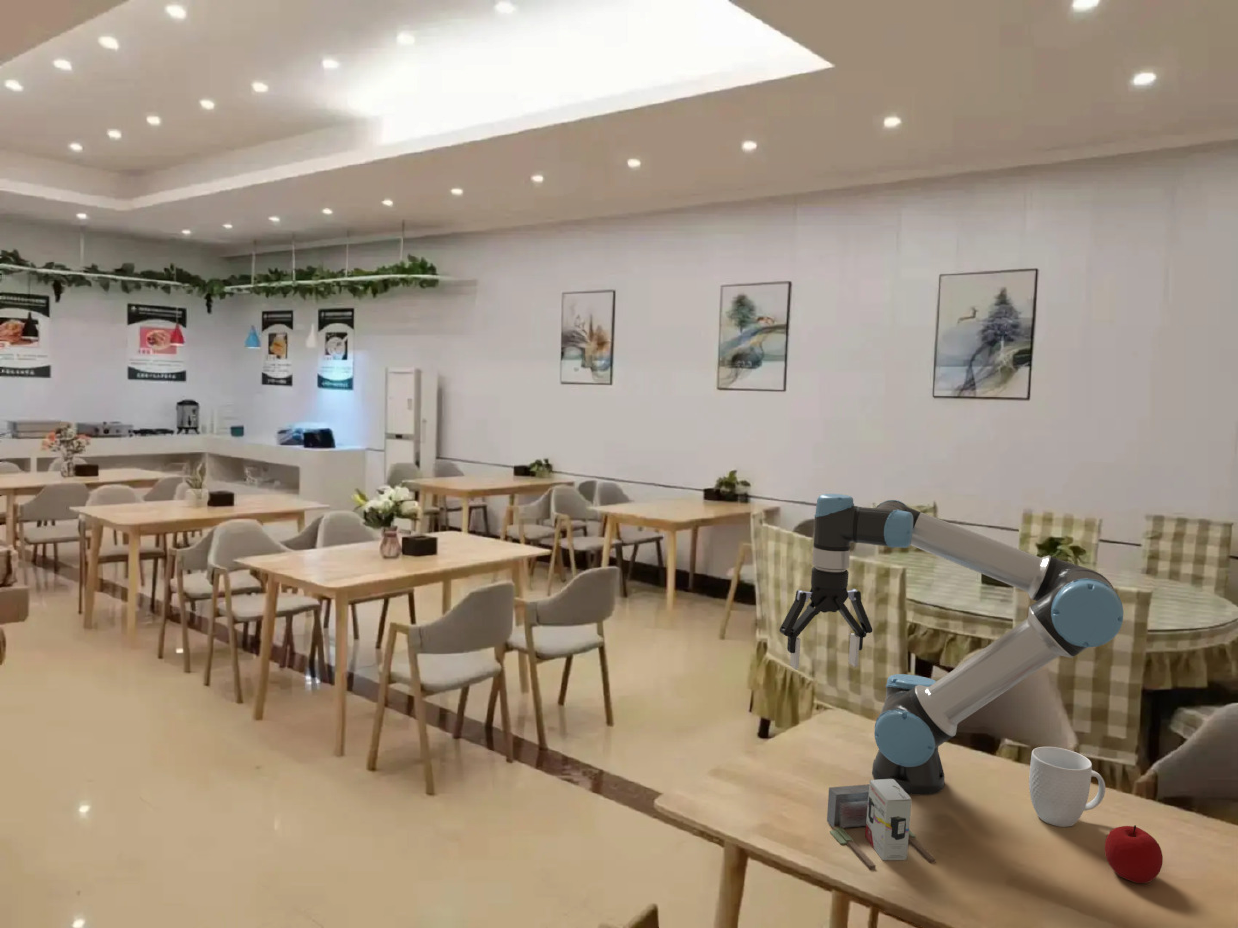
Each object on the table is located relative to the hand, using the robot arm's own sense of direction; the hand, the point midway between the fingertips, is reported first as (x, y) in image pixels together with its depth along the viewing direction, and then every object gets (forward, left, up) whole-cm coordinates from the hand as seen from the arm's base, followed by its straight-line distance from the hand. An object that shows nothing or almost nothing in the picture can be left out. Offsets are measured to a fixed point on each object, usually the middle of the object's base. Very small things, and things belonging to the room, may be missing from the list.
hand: (823, 666), depth 185 cm
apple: (-42, +41, -27) cm, 65 cm away
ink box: (-2, +25, -27) cm, 37 cm away
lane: (-2, +24, -27) cm, 36 cm away
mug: (-44, +21, -27) cm, 56 cm away
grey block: (-2, +16, -27) cm, 31 cm away
